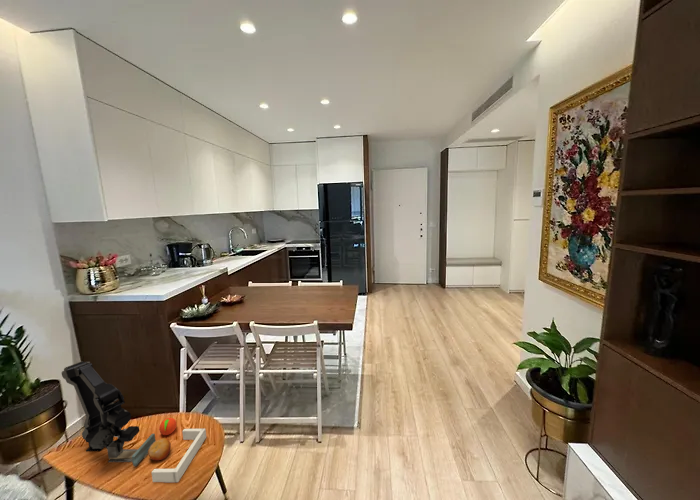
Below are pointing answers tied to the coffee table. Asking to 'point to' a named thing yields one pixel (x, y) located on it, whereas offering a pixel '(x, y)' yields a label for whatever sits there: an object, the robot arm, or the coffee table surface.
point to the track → (123, 459)
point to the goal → (177, 473)
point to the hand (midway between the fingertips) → (115, 451)
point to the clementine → (167, 426)
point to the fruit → (159, 449)
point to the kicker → (133, 455)
